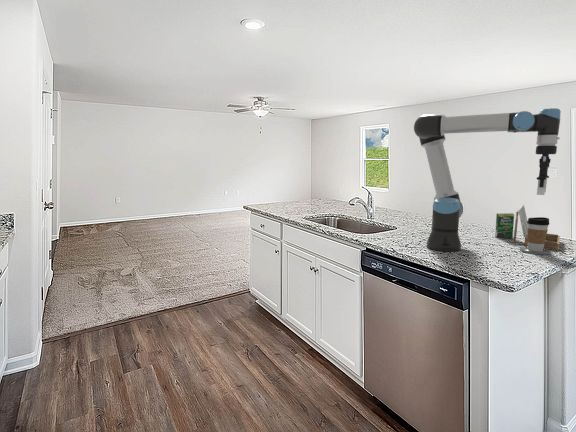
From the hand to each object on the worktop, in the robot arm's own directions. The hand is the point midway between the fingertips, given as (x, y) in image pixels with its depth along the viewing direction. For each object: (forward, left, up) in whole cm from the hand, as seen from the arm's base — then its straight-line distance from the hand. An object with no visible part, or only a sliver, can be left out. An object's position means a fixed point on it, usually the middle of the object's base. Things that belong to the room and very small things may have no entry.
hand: (541, 193), depth 165 cm
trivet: (0, 0, -27) cm, 27 cm away
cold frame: (+18, +8, -27) cm, 33 cm away
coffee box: (+17, +24, -27) cm, 40 cm away
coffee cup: (0, 0, -26) cm, 26 cm away
